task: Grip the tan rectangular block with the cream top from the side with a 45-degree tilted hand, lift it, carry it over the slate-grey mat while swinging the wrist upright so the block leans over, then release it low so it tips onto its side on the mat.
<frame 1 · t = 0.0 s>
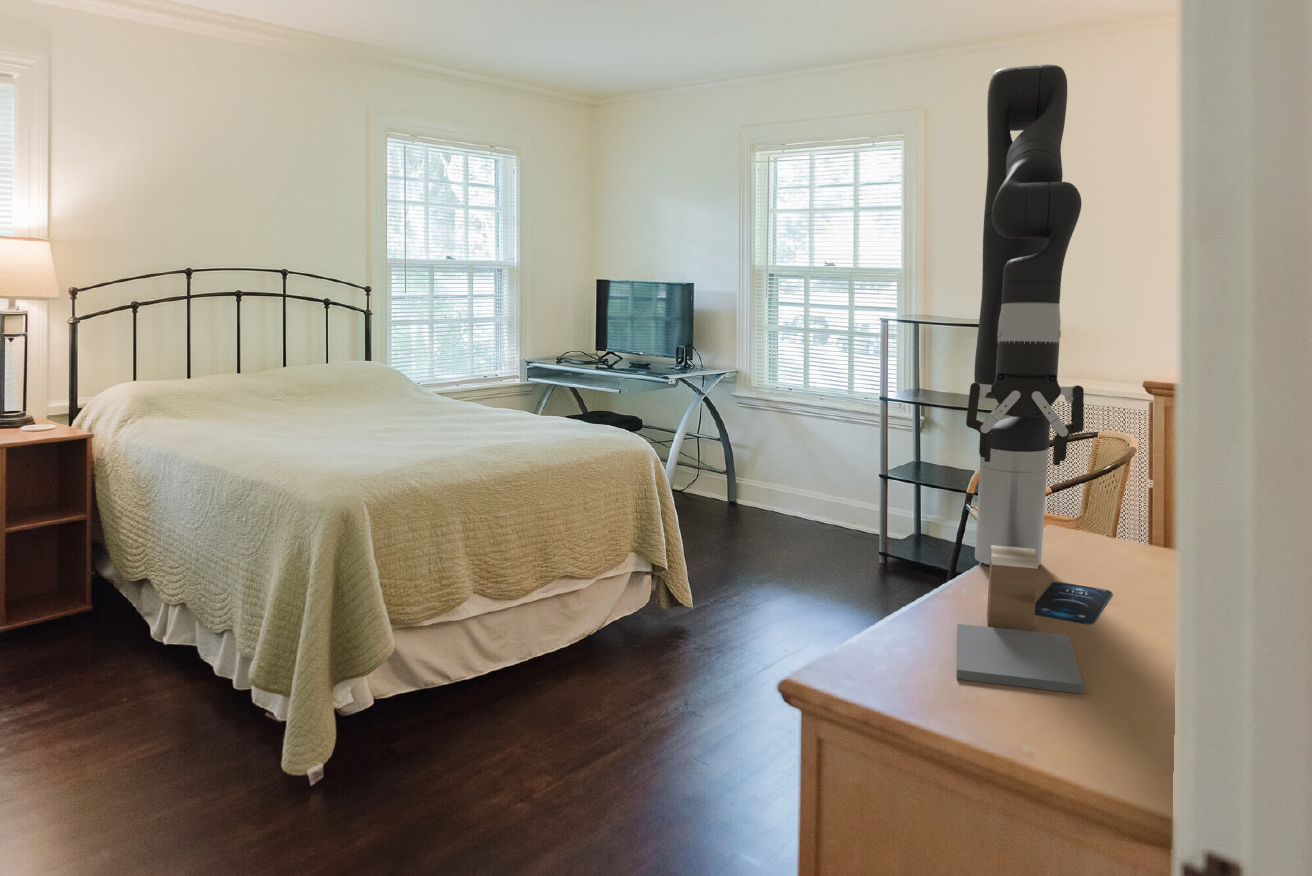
hand: (1021, 463, 123), 17 cm above the dresser, tool pointing down, fingers open, 8 cm apart
tan rectangular block: (1009, 624, 112), on the dresser
slate mat: (1014, 660, 101), on the dresser
smartphone: (1071, 606, 120), on the dresser
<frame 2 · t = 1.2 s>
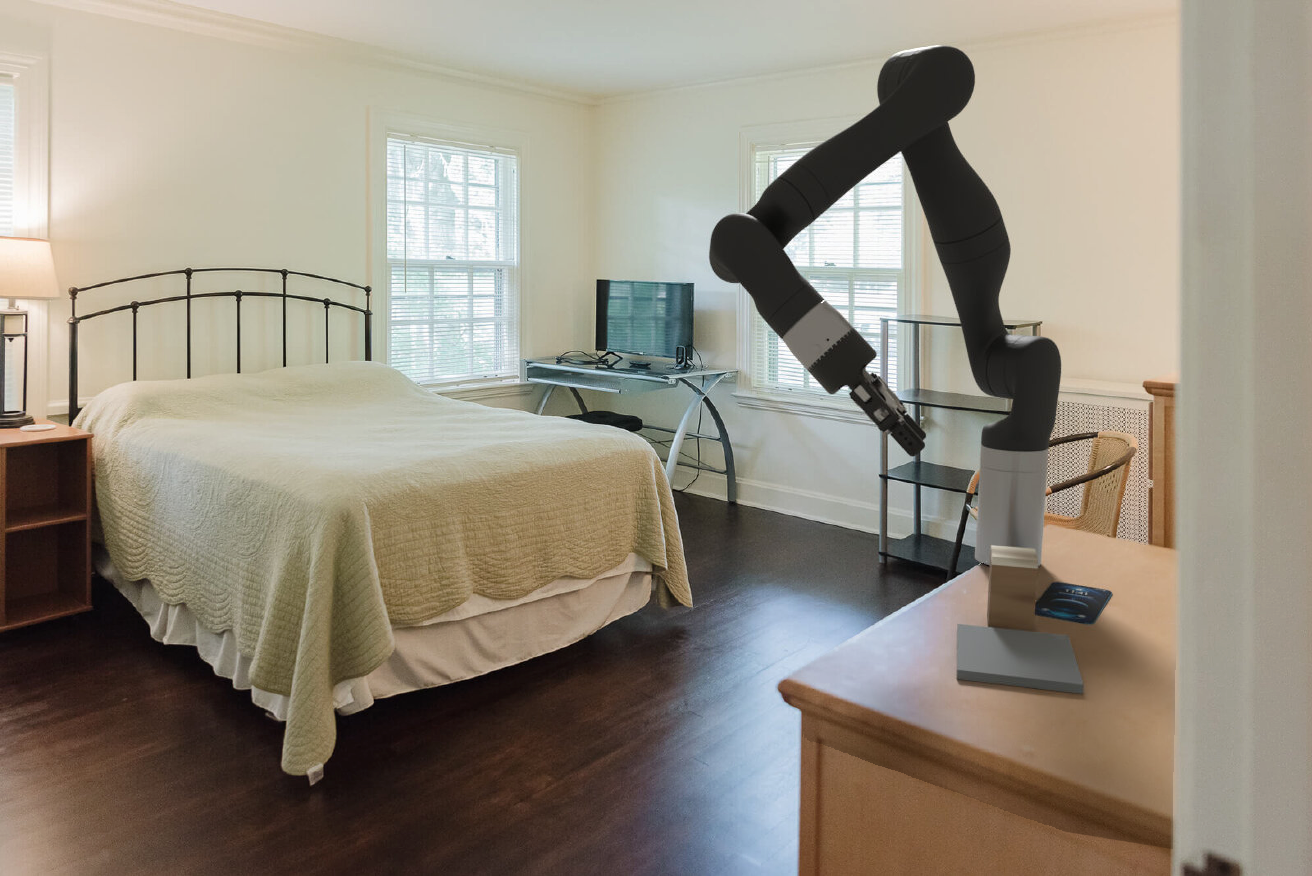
hand: (920, 446, 112), 21 cm above the dresser, tool tilted 45°, fingers open, 8 cm apart
nothing on the dresser moved.
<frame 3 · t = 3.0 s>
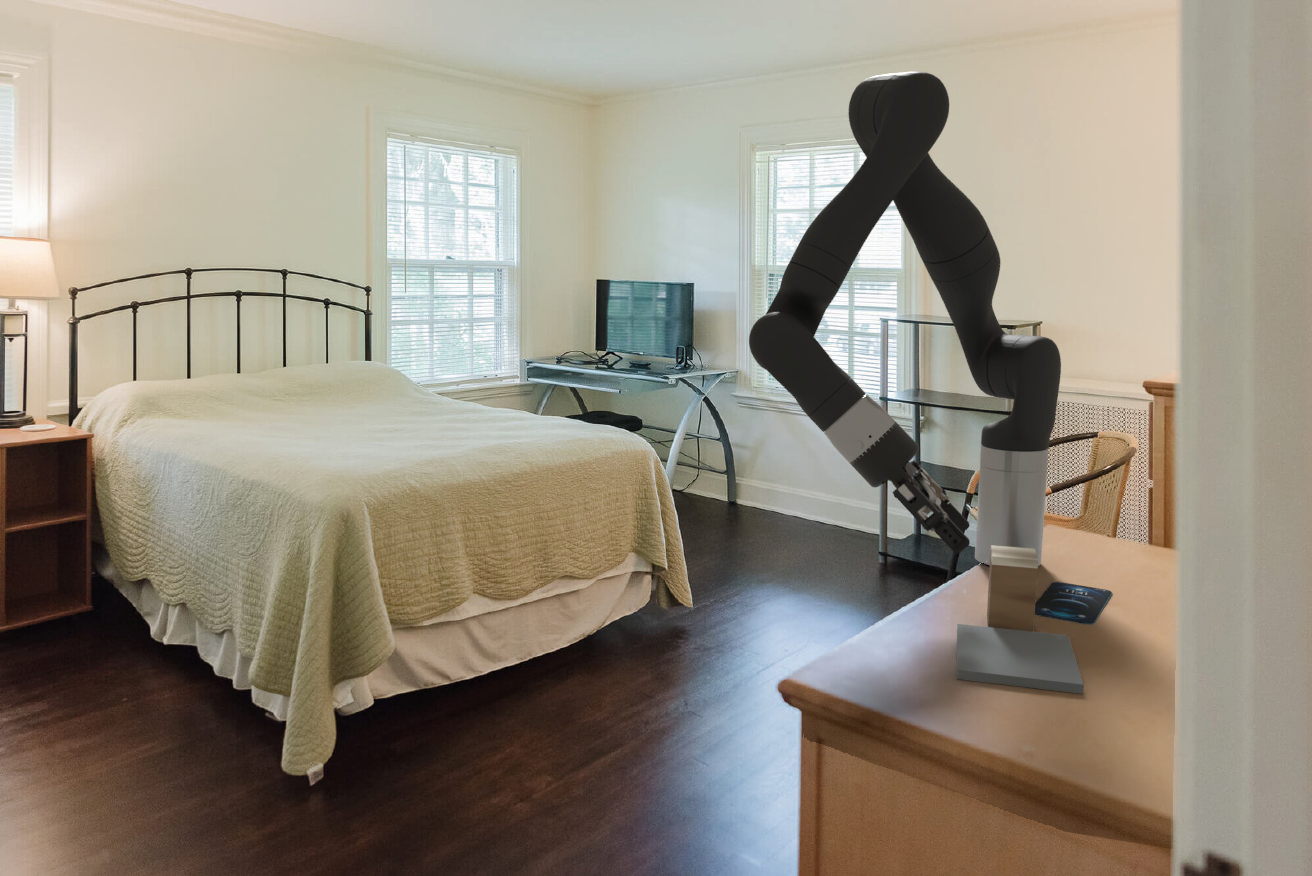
hand: (964, 539, 112), 10 cm above the dresser, tool tilted 45°, fingers open, 8 cm apart
nothing on the dresser moved.
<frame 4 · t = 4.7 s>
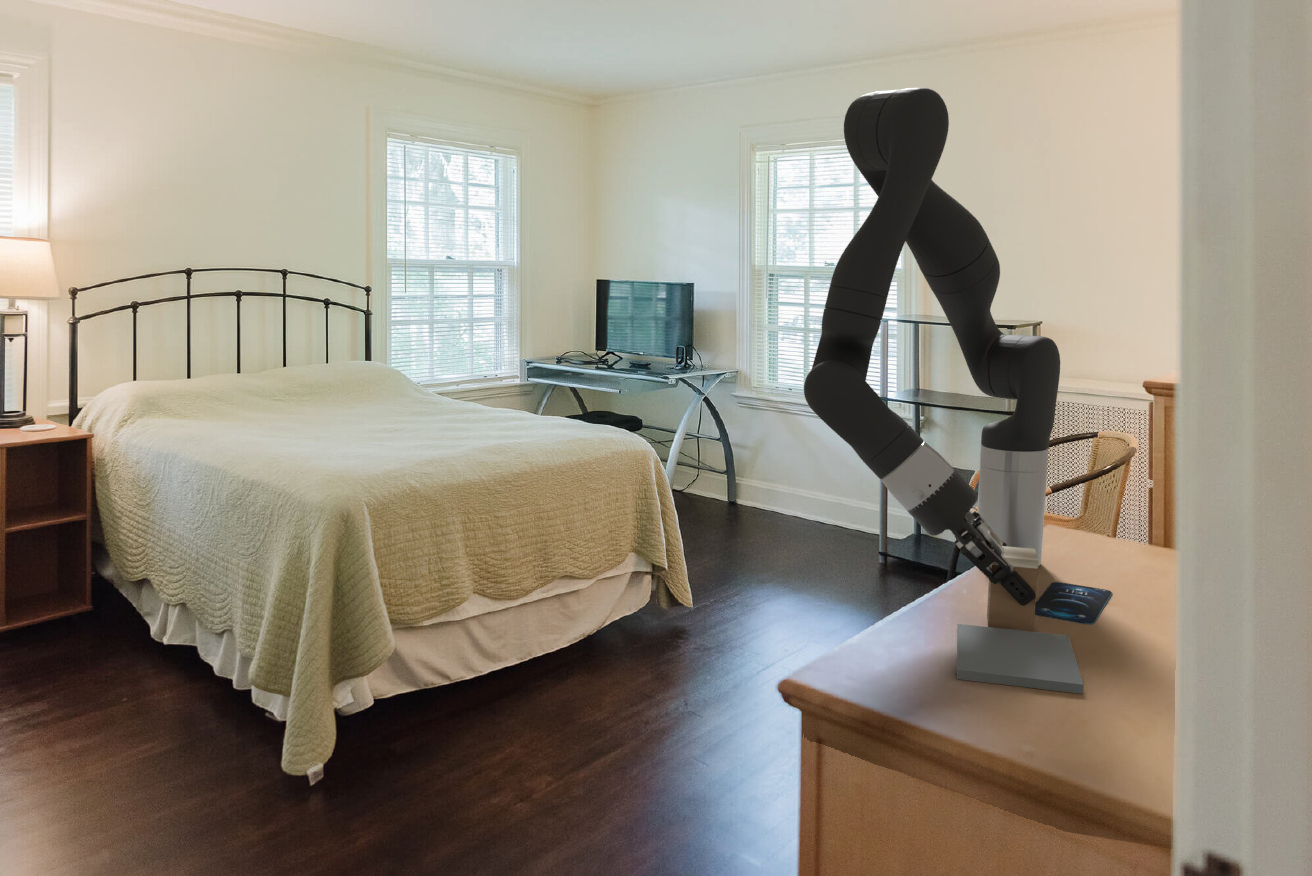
hand: (1028, 592, 111), 4 cm above the dresser, tool tilted 45°, fingers closed on tan rectangular block, 5 cm apart
tan rectangular block: (1009, 624, 112), on the dresser, touching gripper
everything else where it was.
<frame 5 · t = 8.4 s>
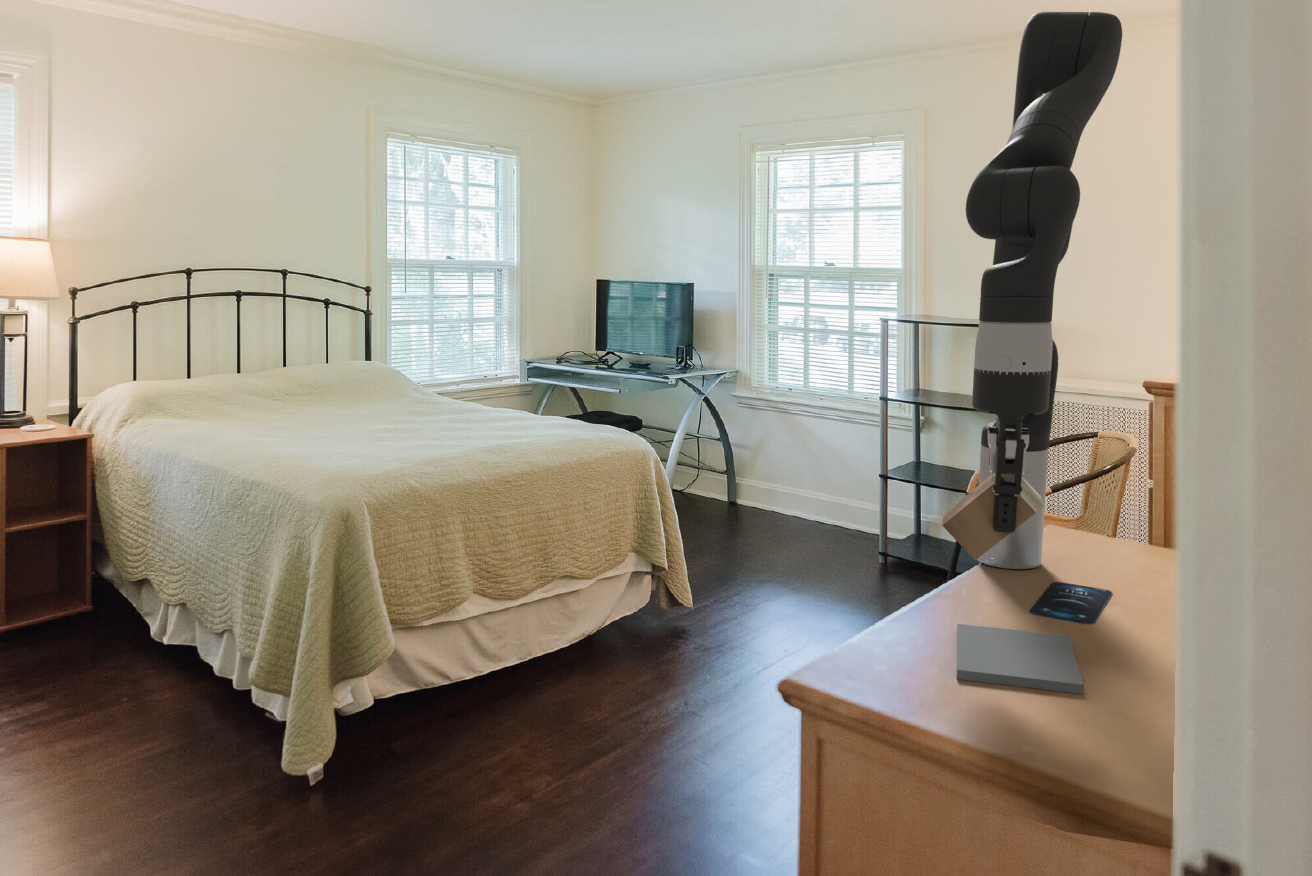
hand: (1002, 524, 100), 15 cm above the dresser, tool pointing down, fingers closed on tan rectangular block, 5 cm apart
tan rectangular block: (958, 536, 101), point 13 cm above the dresser, tilted 45°, touching gripper
everything else where it was.
when the fingers open (6 cm above the dresser, at t = 10.4 s): tan rectangular block moves 2 cm and tips over, resting on slate mat.
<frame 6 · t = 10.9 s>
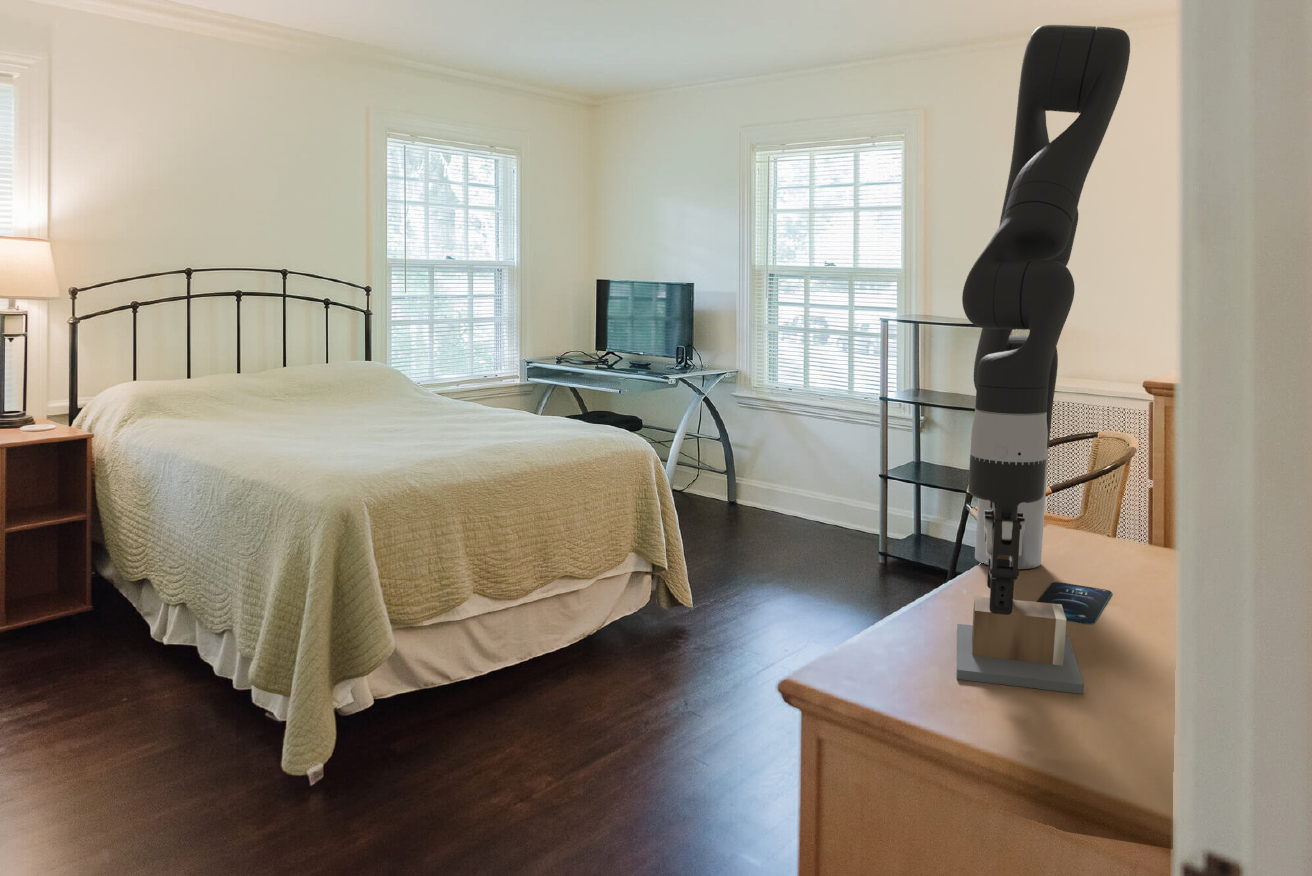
hand: (998, 600, 101), 7 cm above the dresser, tool pointing down, fingers open, 8 cm apart
tan rectangular block: (973, 625, 102), point 3 cm above the dresser, tilted 90°, touching slate mat
everything else where it was.
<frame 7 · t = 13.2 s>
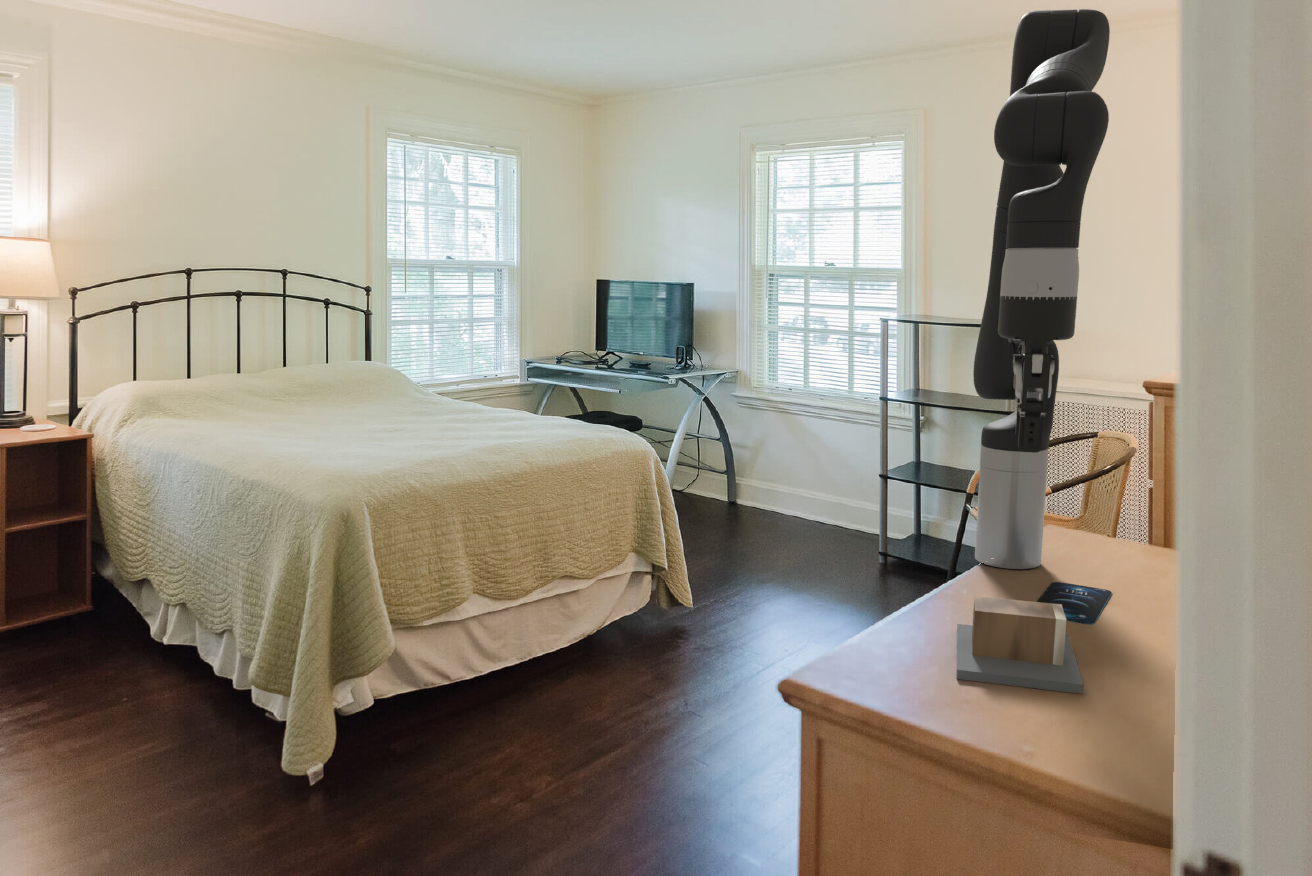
hand: (1027, 444, 101), 23 cm above the dresser, tool pointing down, fingers open, 8 cm apart
nothing on the dresser moved.
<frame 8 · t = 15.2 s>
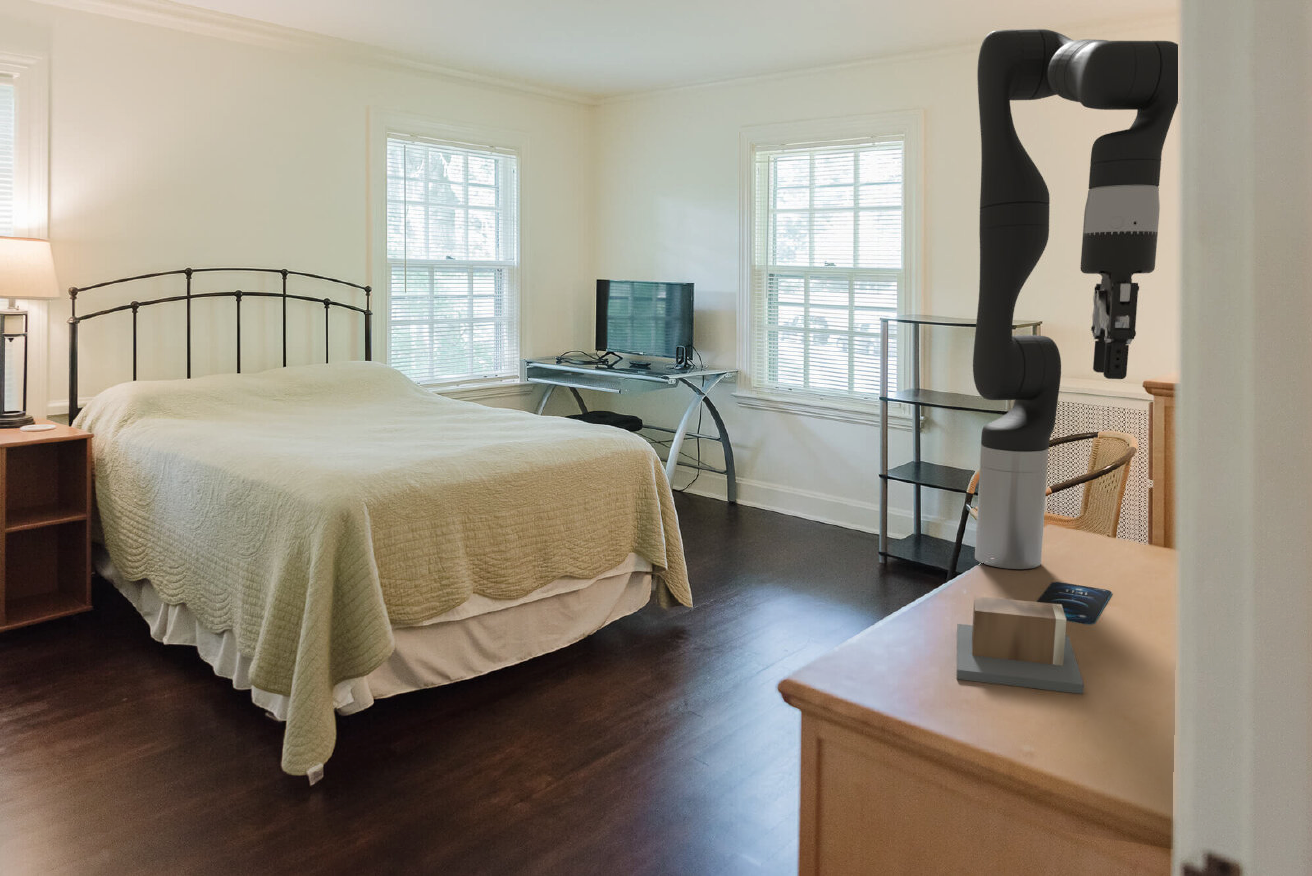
hand: (1108, 375, 107), 30 cm above the dresser, tool pointing down, fingers open, 8 cm apart
nothing on the dresser moved.
at the end: tan rectangular block tilted 90°; tan rectangular block inside the target area on the slate mat (4.0 cm from its centre), point 3.5 cm above the slate mat's base; the gripper is holding nothing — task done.
